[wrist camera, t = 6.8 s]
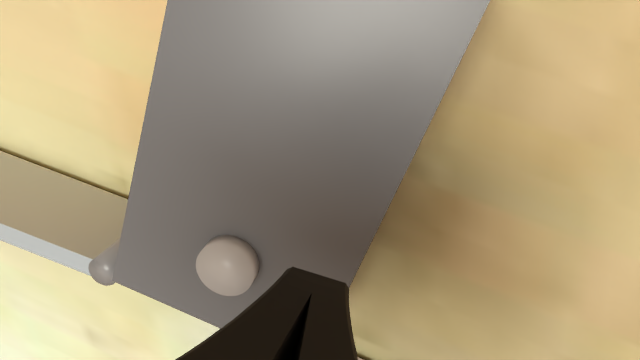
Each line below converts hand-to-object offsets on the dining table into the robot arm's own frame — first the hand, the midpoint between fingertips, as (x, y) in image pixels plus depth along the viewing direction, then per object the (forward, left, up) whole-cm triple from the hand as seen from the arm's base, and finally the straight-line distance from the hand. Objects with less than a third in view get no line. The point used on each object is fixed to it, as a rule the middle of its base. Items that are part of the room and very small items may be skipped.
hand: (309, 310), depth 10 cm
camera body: (+1, +3, -9) cm, 10 cm away
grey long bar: (-7, +14, -9) cm, 18 cm away
